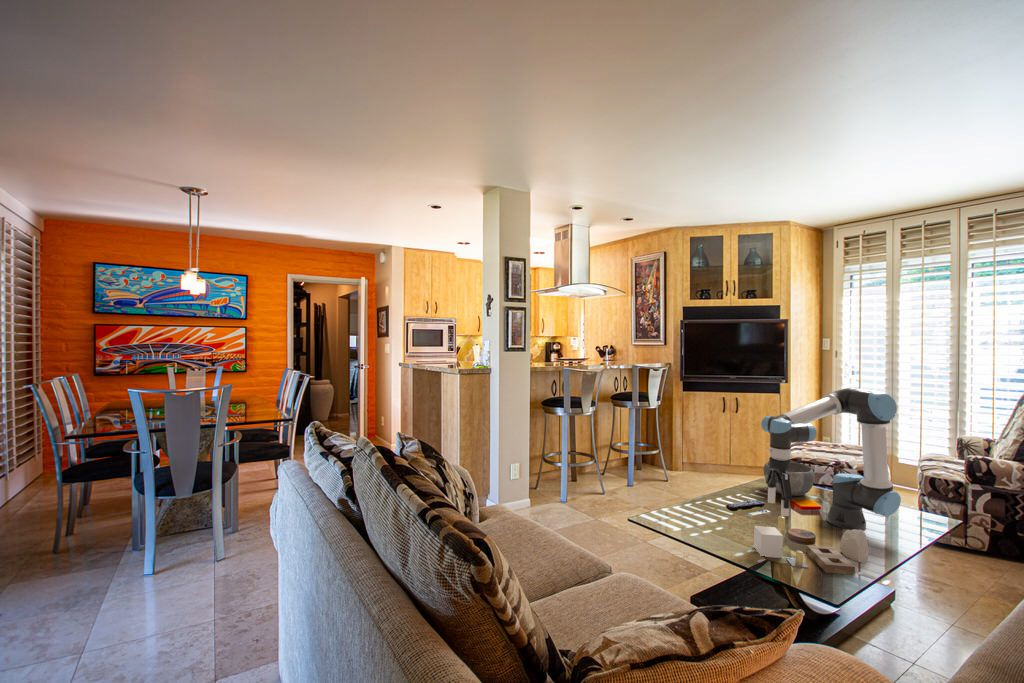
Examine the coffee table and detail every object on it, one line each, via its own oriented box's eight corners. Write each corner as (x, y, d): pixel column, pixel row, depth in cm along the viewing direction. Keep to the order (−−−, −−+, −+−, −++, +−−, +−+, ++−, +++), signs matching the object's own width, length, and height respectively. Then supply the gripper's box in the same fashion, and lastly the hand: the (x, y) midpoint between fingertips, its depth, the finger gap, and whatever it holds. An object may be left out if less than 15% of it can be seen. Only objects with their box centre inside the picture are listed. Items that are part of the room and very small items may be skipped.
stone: (837, 552, 202) (838, 524, 202) (846, 551, 204) (848, 523, 204) (862, 564, 193) (863, 535, 192) (871, 562, 194) (873, 533, 194)
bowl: (771, 498, 263) (772, 470, 262) (756, 483, 287) (757, 458, 286) (821, 502, 259) (823, 474, 258) (802, 487, 283) (804, 461, 282)
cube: (774, 548, 204) (775, 527, 204) (781, 558, 196) (783, 535, 196) (753, 547, 205) (754, 525, 205) (760, 556, 197) (761, 534, 197)
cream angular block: (801, 561, 194) (802, 547, 194) (808, 568, 189) (809, 554, 189) (786, 559, 195) (787, 546, 195) (792, 566, 190) (793, 552, 189)
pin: (782, 544, 209) (784, 516, 208) (785, 547, 206) (786, 518, 206) (776, 543, 209) (777, 515, 209) (778, 546, 207) (779, 518, 206)
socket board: (806, 552, 202) (806, 545, 202) (833, 554, 200) (833, 547, 200) (825, 572, 186) (826, 564, 186) (854, 574, 185) (855, 566, 184)
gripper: (758, 449, 216) (757, 497, 217) (782, 466, 191) (780, 520, 192) (777, 450, 215) (775, 498, 216) (803, 467, 190) (801, 522, 191)
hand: (777, 509), depth 204 cm, fingers open, 13 cm apart
